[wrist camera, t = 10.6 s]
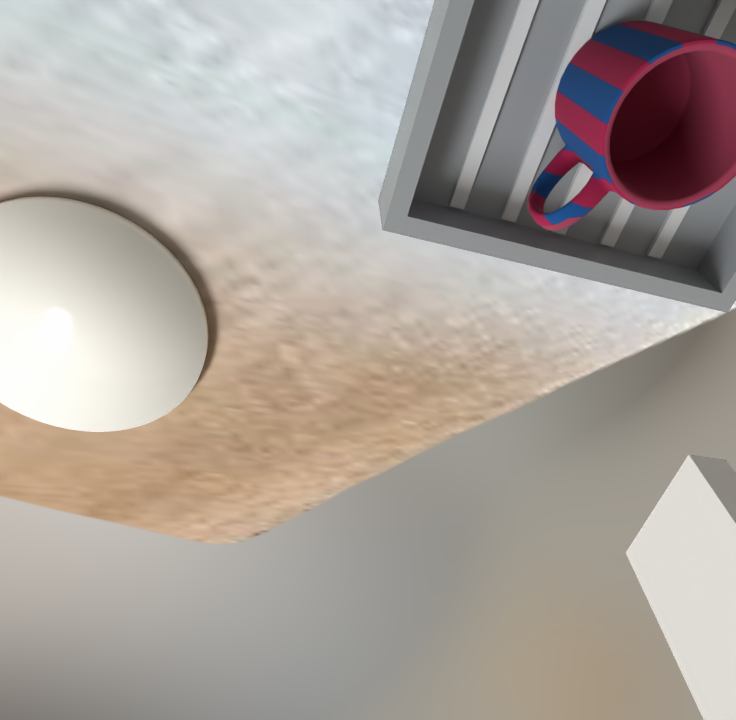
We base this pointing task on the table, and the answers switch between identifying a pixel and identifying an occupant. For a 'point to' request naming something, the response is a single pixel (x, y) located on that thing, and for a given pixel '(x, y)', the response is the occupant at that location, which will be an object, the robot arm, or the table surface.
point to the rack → (543, 151)
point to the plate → (93, 318)
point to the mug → (643, 121)
